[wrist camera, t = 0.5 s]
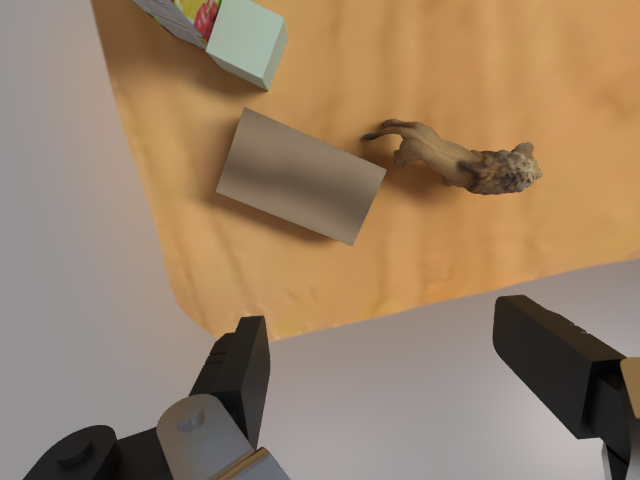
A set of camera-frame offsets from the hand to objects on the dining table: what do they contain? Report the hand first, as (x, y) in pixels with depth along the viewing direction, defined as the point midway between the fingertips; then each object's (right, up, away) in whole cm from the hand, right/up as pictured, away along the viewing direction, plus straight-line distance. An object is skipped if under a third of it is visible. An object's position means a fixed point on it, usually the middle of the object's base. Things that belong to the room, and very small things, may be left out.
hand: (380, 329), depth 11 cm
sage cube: (-9, +21, +20) cm, 30 cm away
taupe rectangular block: (-4, +10, +23) cm, 26 cm away
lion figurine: (+10, +12, +23) cm, 28 cm away
